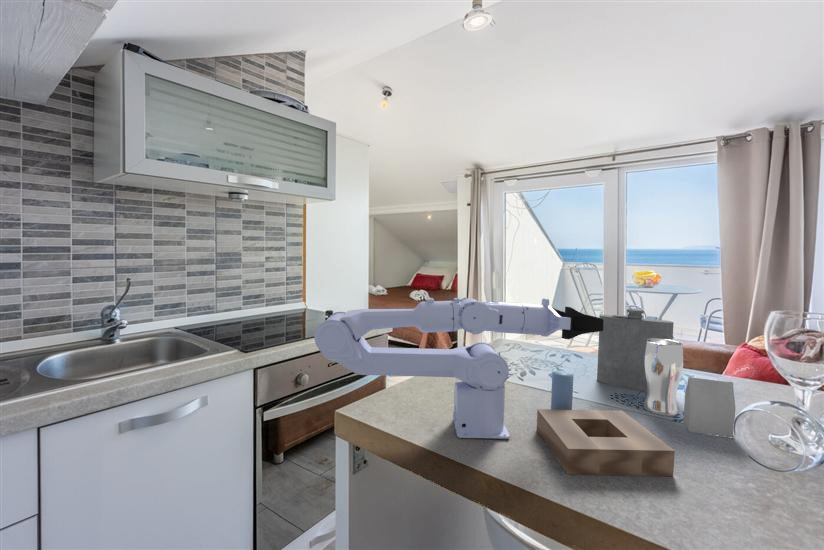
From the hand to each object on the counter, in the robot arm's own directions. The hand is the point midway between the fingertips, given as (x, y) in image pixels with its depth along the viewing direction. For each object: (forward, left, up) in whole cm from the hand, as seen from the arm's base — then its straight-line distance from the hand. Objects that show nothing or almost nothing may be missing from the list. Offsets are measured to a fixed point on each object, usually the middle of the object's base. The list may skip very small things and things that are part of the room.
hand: (591, 323), depth 69 cm
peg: (-3, +5, -21) cm, 21 cm away
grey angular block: (+23, 0, -21) cm, 31 cm away
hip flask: (+22, +23, -21) cm, 38 cm away
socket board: (-2, -8, -21) cm, 22 cm away
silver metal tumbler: (+20, +9, -21) cm, 31 cm away
